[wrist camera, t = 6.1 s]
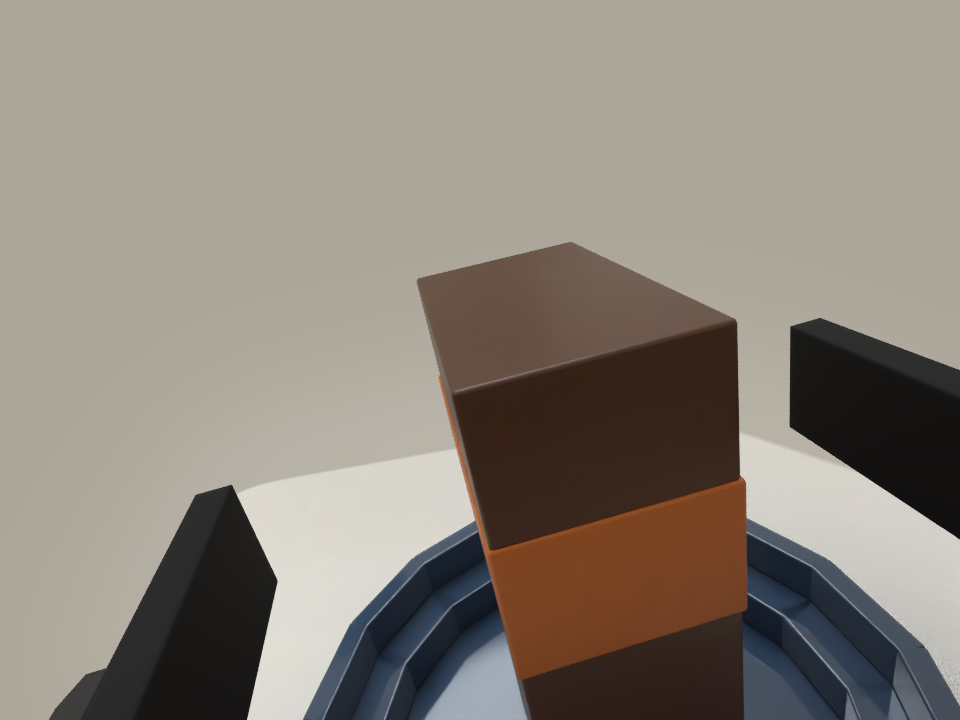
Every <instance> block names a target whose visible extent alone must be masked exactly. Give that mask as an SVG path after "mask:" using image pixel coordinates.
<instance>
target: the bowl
mask: <svg viewBox="0 0 960 720" xmlns="http://www.w3.org/2000/svg"><path fill="white" fill-rule="evenodd" d="M746 529H747V607H748V608H747V610H745V611H743V612H742V622H743V678H744V720H960V706H959V704H958V702H957V700H956V699H955V697H954V695H953V693H952V692H951V690H950V688H949V687H948V685H947V683H946V681H945V680H944V678H943V676H942V674H941V673H940V671H939V669H938V668H937V666H936V664H935V662H934V661H933V659H932V657H931V655H930V654H929V652H928V650H927V649H926V648H925V647H924V645H923V644H922V643H921V642H919V641H918V640H917V639H916V638H915V637H914V636H913V635H912V634H911V633H910V632H908V631H907V630H906V629H905V628H904V627H903V626H902V625H901V624H900V623H898V622H897V621H896V620H895V619H894V618H893V617H892V616H891V615H890V614H889V613H887V612H886V611H885V610H884V609H883V608H882V607H881V606H880V605H879V604H877V603H876V602H875V601H874V600H873V599H872V598H871V597H870V596H869V595H868V594H866V593H865V592H864V591H863V590H862V589H861V588H860V587H859V586H858V585H857V584H855V583H854V582H853V581H852V580H851V579H850V578H849V577H848V576H847V575H845V574H844V573H843V572H842V571H841V570H840V569H839V568H838V567H837V566H836V565H834V564H833V563H832V562H831V561H830V560H827V559H826V558H825V557H823V556H821V555H819V554H817V553H815V552H813V551H811V550H809V549H807V548H805V547H803V546H801V545H799V544H797V543H795V542H793V541H791V540H789V539H787V538H785V537H783V536H781V535H779V534H777V533H775V532H773V531H771V530H769V529H767V528H765V527H763V526H761V525H759V524H757V523H755V522H753V521H751V520H749V519H747V518H746ZM303 720H528V719H527V716H526V712H525V708H524V704H523V701H522V697H521V693H520V689H519V685H518V682H517V678H516V674H515V670H514V666H513V662H512V658H511V654H510V651H509V647H508V643H507V639H506V635H505V631H504V627H503V623H502V619H501V615H500V611H499V607H498V604H497V600H496V596H495V592H494V588H493V585H492V581H491V577H490V573H489V570H488V566H487V562H486V558H485V555H484V551H483V547H482V543H481V539H480V536H479V532H478V528H477V524H476V521H474V522H472V523H471V524H469V525H467V526H466V527H464V528H462V529H460V530H459V531H457V532H455V533H454V534H452V535H450V536H449V537H447V538H445V539H444V540H442V541H440V542H438V543H437V544H435V545H433V546H432V547H430V548H428V549H427V550H425V551H423V552H421V553H420V554H418V555H416V556H415V558H412V559H411V560H410V561H409V562H408V564H407V565H406V566H405V567H404V568H403V569H402V570H401V571H400V572H399V573H398V574H397V575H396V576H395V577H394V578H393V579H392V580H391V581H390V582H389V584H388V585H387V586H386V587H385V588H384V589H383V590H382V591H381V592H380V593H379V594H378V595H377V596H376V597H375V598H374V599H373V600H372V601H371V602H370V604H369V605H368V606H367V607H366V608H365V609H364V610H363V611H362V612H361V613H360V614H359V615H358V616H357V617H356V618H355V619H354V620H353V621H352V623H351V624H350V625H349V627H348V629H347V631H346V633H345V635H344V637H343V639H342V641H341V643H340V645H339V647H338V649H337V651H336V654H335V656H334V658H333V660H332V662H331V664H330V666H329V668H328V670H327V672H326V674H325V676H324V678H323V680H322V682H321V684H320V686H319V688H318V690H317V692H316V694H315V696H314V698H313V700H312V702H311V704H310V706H309V708H308V710H307V712H306V714H305V716H304V718H303Z"/></svg>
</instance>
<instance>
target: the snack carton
mask: <svg viewBox="0 0 960 720" xmlns="http://www.w3.org/2000/svg"><path fill="white" fill-rule="evenodd" d="M417 285H418V289H419V292H420V297H421V301H422V305H423V309H424V312H425V316H426V321H427V324H428V328H429V333H430V337H431V340H432V344H433V348H434V352H435V356H436V360H437V364H438V368H439V372H440V376H439V381H440V385H441V389H442V393H443V397H444V401H445V405H446V408H447V413H448V417H449V420H450V425H451V429H452V433H453V437H454V441H455V444H456V448H457V452H458V456H459V460H460V464H461V468H462V472H463V475H464V479H465V483H466V487H467V490H468V494H469V498H470V502H471V506H472V509H473V513H474V517H475V521H476V524H477V528H478V532H479V536H480V539H481V543H482V547H483V551H484V555H485V558H486V562H487V566H488V570H489V573H490V577H491V581H492V585H493V588H494V592H495V596H496V600H497V604H498V607H499V611H500V615H501V619H502V623H503V627H504V631H505V635H506V639H507V643H508V647H509V651H510V654H511V658H512V662H513V666H514V670H515V674H516V678H517V682H518V685H519V689H520V693H521V697H522V701H523V704H524V708H525V712H526V716H527V719H528V720H744V678H743V622H742V612H743V611H745V610H747V608H748V607H747V529H746V482H745V480H744V479H743V478H742V477H741V476H740V454H739V398H738V343H737V322H736V320H735V319H734V318H732V317H730V316H727V315H726V314H723V313H721V312H719V311H717V310H715V309H713V308H711V307H709V306H706V305H704V304H702V303H700V302H698V301H696V300H694V299H692V298H689V297H687V296H685V295H683V294H681V293H679V292H677V291H675V290H672V289H670V288H668V287H666V286H664V285H662V284H660V283H658V282H655V281H653V280H651V279H649V278H647V277H645V276H643V275H640V274H638V273H636V272H634V271H632V270H630V269H628V268H626V267H624V266H621V265H619V264H617V263H615V262H613V261H611V260H609V259H606V258H604V257H602V256H600V255H598V254H596V253H593V252H592V251H589V250H587V249H585V248H583V247H581V246H579V245H576V244H575V243H572V242H569V243H564V244H561V245H556V246H552V247H548V248H544V249H539V250H535V251H531V252H527V253H523V254H519V255H514V256H510V257H506V258H502V259H498V260H494V261H490V262H485V263H481V264H477V265H473V266H469V267H465V268H460V269H456V270H452V271H448V272H444V273H439V274H435V275H431V276H427V277H423V278H419V279H418V280H417Z"/></svg>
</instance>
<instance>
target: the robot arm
mask: <svg viewBox="0 0 960 720" xmlns="http://www.w3.org/2000/svg"><path fill="white" fill-rule="evenodd" d="M790 329H791V330H790V333H791V334H790V339H791V340H790V427H791V428H793V429H794V430H795V431H797V432H798V433H800V434H802V435H803V436H804V437H806V438H807V439H809V440H811V441H812V442H814V443H815V444H817V445H818V446H820V447H821V448H823V449H824V450H826V451H827V452H829V453H830V454H832V455H833V456H835V457H836V458H838V459H839V460H841V461H842V462H844V463H845V464H847V465H848V466H850V467H851V468H853V469H854V470H856V471H857V472H859V473H860V474H862V475H863V476H865V477H866V478H868V479H869V480H871V481H872V482H874V483H875V484H877V485H878V486H880V487H882V488H883V489H885V490H886V491H888V492H889V493H891V494H892V495H894V496H895V497H897V498H898V499H900V500H901V501H903V502H904V503H906V504H907V505H909V506H910V507H912V508H913V509H915V510H916V511H918V512H919V513H921V514H922V515H924V516H925V517H927V518H928V519H930V520H931V521H933V522H934V523H936V524H937V525H939V526H940V527H942V528H943V529H945V530H946V531H948V532H950V533H951V534H953V535H954V536H956V537H957V538H959V539H960V370H958V369H955V368H953V367H949V366H947V365H944V364H941V363H939V362H936V361H934V360H931V359H928V358H925V357H923V356H920V355H918V354H915V353H912V352H909V351H907V350H904V349H902V348H899V347H896V346H893V345H891V344H888V343H886V342H883V341H880V340H878V339H875V338H872V337H870V336H867V335H864V334H862V333H859V332H856V331H854V330H851V329H848V328H846V327H843V326H840V325H837V324H835V323H832V322H829V321H827V320H824V319H821V318H818V319H815V320H812V321H808V322H805V323H801V324H797V325H794V326H791V327H790ZM276 586H277V578H276V576H275V574H274V572H273V570H272V568H271V566H270V564H269V562H268V560H267V557H266V555H265V553H264V551H263V549H262V547H261V545H260V543H259V541H258V539H257V536H256V534H255V532H254V530H253V528H252V526H251V524H250V522H249V520H248V518H247V515H246V513H245V511H244V509H243V507H242V505H241V503H240V501H239V499H238V497H237V495H236V493H235V490H234V489H233V486H232V485H229V486H226V487H222V488H219V489H215V490H212V491H208V492H205V493H201V494H197V495H195V497H194V499H193V501H192V503H191V505H190V507H189V509H188V511H187V513H186V515H185V517H184V519H183V521H182V523H181V524H180V526H179V529H178V530H177V532H176V534H175V536H174V538H173V540H172V542H171V544H170V546H169V548H168V550H167V552H166V554H165V556H164V558H163V559H162V562H161V563H160V565H159V567H158V569H157V571H156V573H155V575H154V577H153V579H152V581H151V583H150V585H149V587H148V589H147V591H146V593H145V595H144V596H143V598H142V600H141V602H140V604H139V606H138V609H137V610H136V612H135V614H134V616H133V618H132V620H131V622H130V624H129V626H128V628H127V630H126V631H125V633H124V635H123V637H122V639H121V641H120V643H119V645H118V647H117V649H116V651H115V653H114V655H113V657H112V659H111V661H110V663H109V665H108V666H107V668H106V669H103V670H99V671H96V672H93V673H89V674H86V675H85V676H84V677H83V678H82V679H81V681H80V682H79V683H78V684H77V685H76V686H75V687H74V689H73V690H72V691H71V692H70V693H69V694H68V695H67V696H66V698H65V699H64V700H63V701H62V702H61V703H60V704H59V705H58V707H57V708H56V709H55V710H54V712H53V714H52V716H51V717H50V719H49V720H247V717H248V713H249V708H250V704H251V699H252V695H253V690H254V686H255V681H256V677H257V672H258V667H259V663H260V658H261V654H262V649H263V645H264V640H265V636H266V631H267V627H268V622H269V618H270V613H271V609H272V604H273V600H274V595H275V591H276Z"/></svg>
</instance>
